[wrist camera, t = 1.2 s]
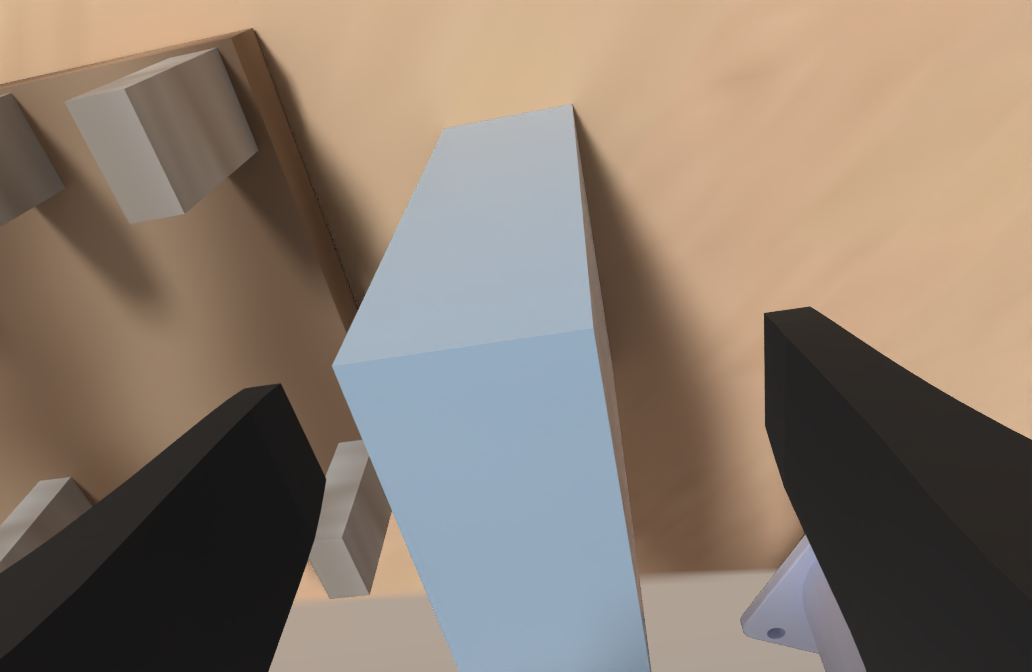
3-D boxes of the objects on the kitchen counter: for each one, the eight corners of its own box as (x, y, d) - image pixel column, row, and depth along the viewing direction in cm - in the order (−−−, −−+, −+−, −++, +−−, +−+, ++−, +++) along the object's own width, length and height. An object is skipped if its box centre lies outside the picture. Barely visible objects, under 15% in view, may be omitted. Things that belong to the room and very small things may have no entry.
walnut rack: (252, 28, 12) (140, 76, 9) (416, 466, 18) (384, 597, 15) (-349, 162, 14) (-626, 243, 11) (-33, 520, 20) (-152, 646, 17)
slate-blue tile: (572, 104, 13) (592, 328, 6) (611, 362, 16) (654, 699, 9) (444, 128, 13) (332, 366, 7) (507, 376, 16) (475, 711, 10)
